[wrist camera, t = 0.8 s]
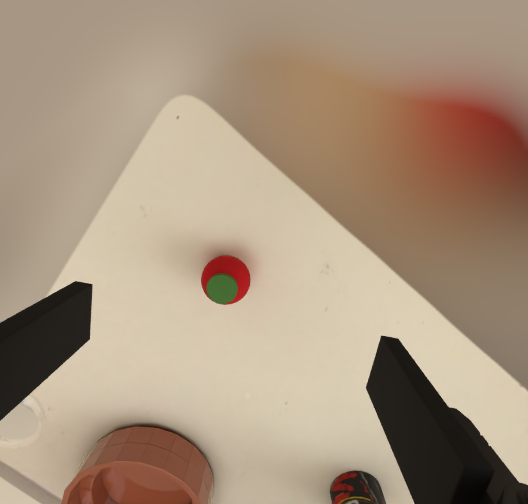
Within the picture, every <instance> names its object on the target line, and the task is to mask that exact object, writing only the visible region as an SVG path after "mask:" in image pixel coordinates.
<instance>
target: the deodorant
mask: <svg viewBox="0 0 528 504" xmlns="http://www.w3.org/2000/svg"><path fill="white" fill-rule="evenodd" d="M330 494H331V500H332V504H386V502H385V499H384V496H383V493H382V490H381V487H380V484H379V482H378V481H377V480H376V479H375V478H374V477H373V476H372V475H370V474H368V473H365V472H360V471H352V472H347V473H344V474H342V475H340V476H339V477H337V478H336V479H335V480H334V482H333V483H332V485H331V489H330Z"/></svg>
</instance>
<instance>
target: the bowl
mask: <svg viewBox="0 0 528 504" xmlns="http://www.w3.org/2000/svg"><path fill="white" fill-rule="evenodd" d="M212 496H213V475H212V472H211V470H210V467H209V465H208V462H207V460H206V459H205V457H204V456H203V455H202V454H201V453H200V452H199V450H198V449H197V448H196V447H195V446H194V445H193V444H191V443H190V442H188V441H186V440H185V439H183V438H182V437H180V436H179V435H177V434H175V433H172V432H169V431H166V430H162V429H159V428H155V427H130V428H126V429H121V430H117V431H114V432H112V433H111V434H109V435H107V436H106V437H104V438H102V439H101V440H99V441H98V442H97V444H96V445H95V446H94V448H93V449H92V450H91V451H90V453H89V454H88V455H87V457H86V459H85V460H84V462H83V463H82V465H81V466H80V468H79V469H78V471H77V472H76V474H75V475H74V477H73V478H72V480H71V481H70V483H69V484H68V486H67V488H66V489H65V491H64V495H63V499H62V503H61V504H211V502H212Z"/></svg>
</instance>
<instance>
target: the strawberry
mask: <svg viewBox="0 0 528 504" xmlns="http://www.w3.org/2000/svg"><path fill="white" fill-rule="evenodd" d="M201 283H202V288H203V290H204V292H205V294H206V295H207V297H208V298H209V299H211V300H212V301H214V302H216V303H219V304H224V305H227V304H233V303H235V302H238V301H239V300H241V299H242V298H243V297H244V296H245V295H246V293H247V291H248V289H249V286H250V274H249V271H248V269H247V267H246V265H245V264H244V263H243V262H242V261H241V260H239V259H238V258H235V257H232V256H220V257H217V258H215V259H213V260H211V261H210V262H209V263H208V264H207V265H206V267H205V268H204V270H203V273H202V277H201Z"/></svg>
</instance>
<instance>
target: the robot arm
mask: <svg viewBox="0 0 528 504" xmlns="http://www.w3.org/2000/svg"><path fill="white" fill-rule="evenodd" d="M91 304H92V284H88V283H83V282H77V281H75V282H73V283H71V284H70V285H68V286H66V287H64V288H62V289H60V290H59V291H57V292H55V293H53V294H51V295H50V296H48V297H46V298H44V299H42V300H41V301H39V302H37V303H35V304H33V305H32V306H30V307H28V308H26V309H25V310H22V311H21V312H19V313H17V314H16V315H14V316H12V317H10V318H8V319H6V320H5V321H3V322H1V323H0V420H1V419H3V418H4V417H5V416H6V415H7V414H8V413H9V412H10V411H11V410H13V409H14V408H15V407H16V406H17V405H18V404H19V403H20V402H21V401H22V400H24V399H25V398H26V397H27V396H28V395H29V394H30V393H31V392H32V391H33V390H35V389H36V388H37V387H38V386H39V385H40V384H41V383H42V382H43V381H44V380H46V379H47V378H48V377H49V376H50V375H51V374H52V373H53V372H54V371H55V370H57V369H58V368H59V367H60V366H61V365H62V364H63V363H64V362H65V361H66V360H68V359H69V358H70V357H71V356H72V355H73V354H74V353H75V352H76V351H77V350H79V349H80V348H81V347H82V346H83V345H84V344H85V343H86V342H87V341H88V340H90V324H91ZM366 389H367V391H368V394H369V396H370V399H371V401H372V403H373V406H374V408H375V410H376V413H377V415H378V418H379V420H380V422H381V425H382V427H383V430H384V432H385V434H386V437H387V439H388V441H389V444H390V446H391V449H392V451H393V453H394V456H395V458H396V460H397V463H398V465H399V468H400V470H401V472H402V475H403V477H404V479H405V482H406V484H407V487H408V489H409V491H410V494H411V496H412V499H413V501H414V503H415V504H528V485H526V484H523V483H519V482H518V481H517V479H516V478H515V477H514V476H513V474H512V473H511V472H510V470H509V469H508V468H507V467H506V465H505V464H504V463H503V462H502V460H501V459H500V458H499V456H498V455H497V454H496V453H495V451H494V450H493V449H492V447H491V446H489V445H488V442H487V441H486V440H485V439H484V437H483V436H482V435H480V432H479V431H478V430H477V428H476V427H475V426H474V424H473V423H472V422H471V421H470V420H469V419H468V418H467V417H466V416H464V415H463V414H462V413H461V412H460V411H458V410H457V409H455V408H450V407H448V406H447V404H446V403H445V402H444V400H443V399H442V398H441V396H440V395H439V394H438V392H437V391H436V390H435V388H434V387H433V385H432V384H431V383H430V381H429V380H428V379H427V377H426V376H425V375H424V373H423V372H422V370H421V369H420V368H419V366H418V365H417V364H416V362H415V361H414V360H413V358H412V357H411V356H410V354H409V353H408V351H407V350H406V349H405V347H404V346H403V345H402V343H401V342H400V341H399V339H397V338H392V337H386V336H381V339H380V342H379V346H378V349H377V352H376V356H375V359H374V362H373V366H372V369H371V373H370V376H369V379H368V383H367V386H366Z"/></svg>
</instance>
